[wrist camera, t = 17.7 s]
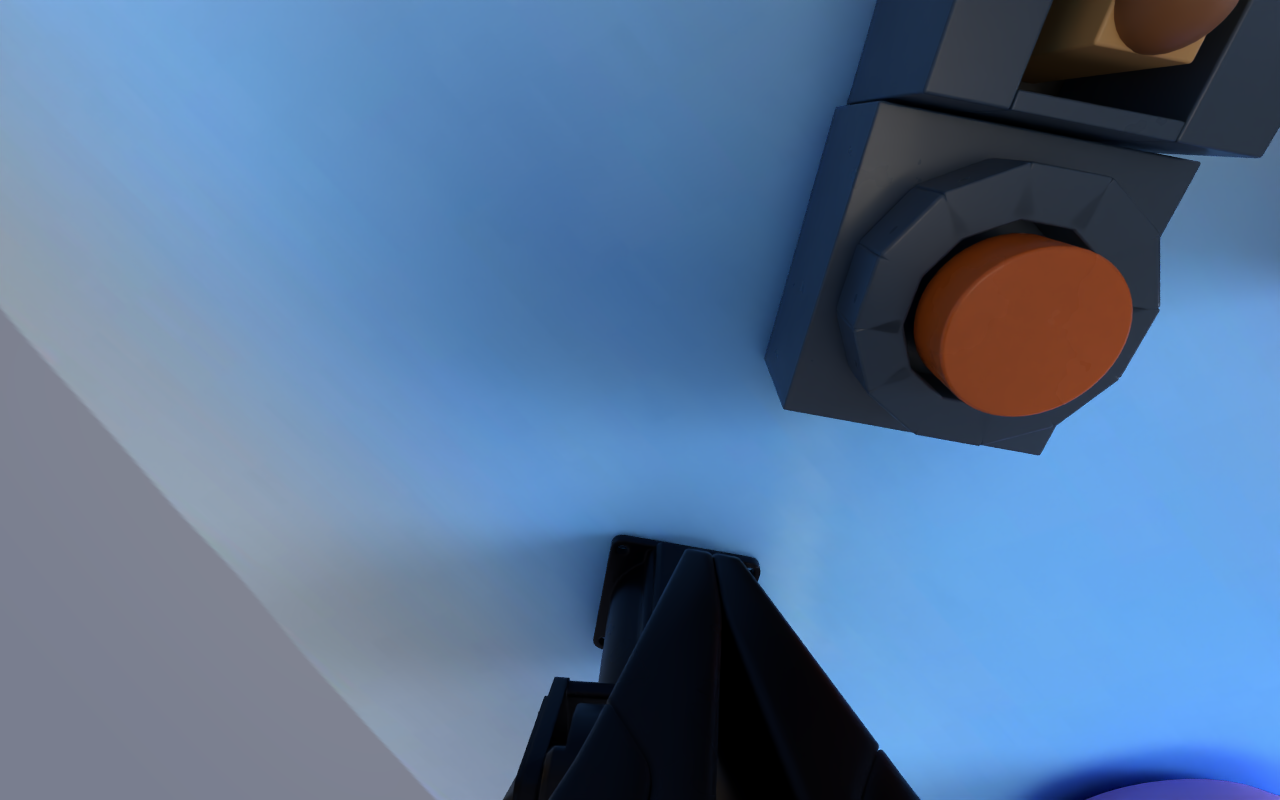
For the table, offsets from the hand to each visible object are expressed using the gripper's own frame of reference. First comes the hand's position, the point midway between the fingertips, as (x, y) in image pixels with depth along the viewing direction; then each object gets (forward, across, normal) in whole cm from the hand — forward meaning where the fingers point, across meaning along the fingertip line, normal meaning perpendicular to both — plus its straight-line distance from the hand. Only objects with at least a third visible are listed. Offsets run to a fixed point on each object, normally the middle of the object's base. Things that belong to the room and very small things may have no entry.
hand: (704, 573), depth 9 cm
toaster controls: (+13, -7, -3) cm, 15 cm away
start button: (+7, -7, -3) cm, 11 cm away
